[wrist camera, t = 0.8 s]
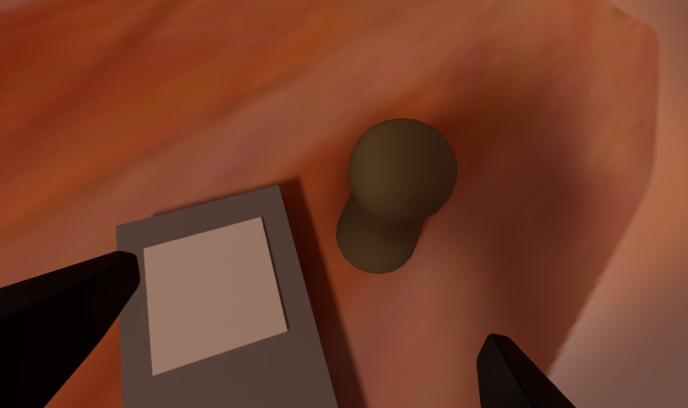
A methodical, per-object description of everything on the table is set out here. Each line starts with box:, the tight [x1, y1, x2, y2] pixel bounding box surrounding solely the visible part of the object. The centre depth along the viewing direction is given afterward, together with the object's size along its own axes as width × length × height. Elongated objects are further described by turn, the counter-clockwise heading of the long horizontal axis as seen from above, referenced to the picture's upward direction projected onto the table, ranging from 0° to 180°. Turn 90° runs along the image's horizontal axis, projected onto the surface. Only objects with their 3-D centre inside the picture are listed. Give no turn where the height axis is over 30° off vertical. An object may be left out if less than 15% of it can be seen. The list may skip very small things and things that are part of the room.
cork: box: [336, 118, 457, 274], centre depth 19 cm, size 6×6×11 cm
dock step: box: [116, 185, 339, 408], centre depth 20 cm, size 18×11×2 cm, turn 18°
